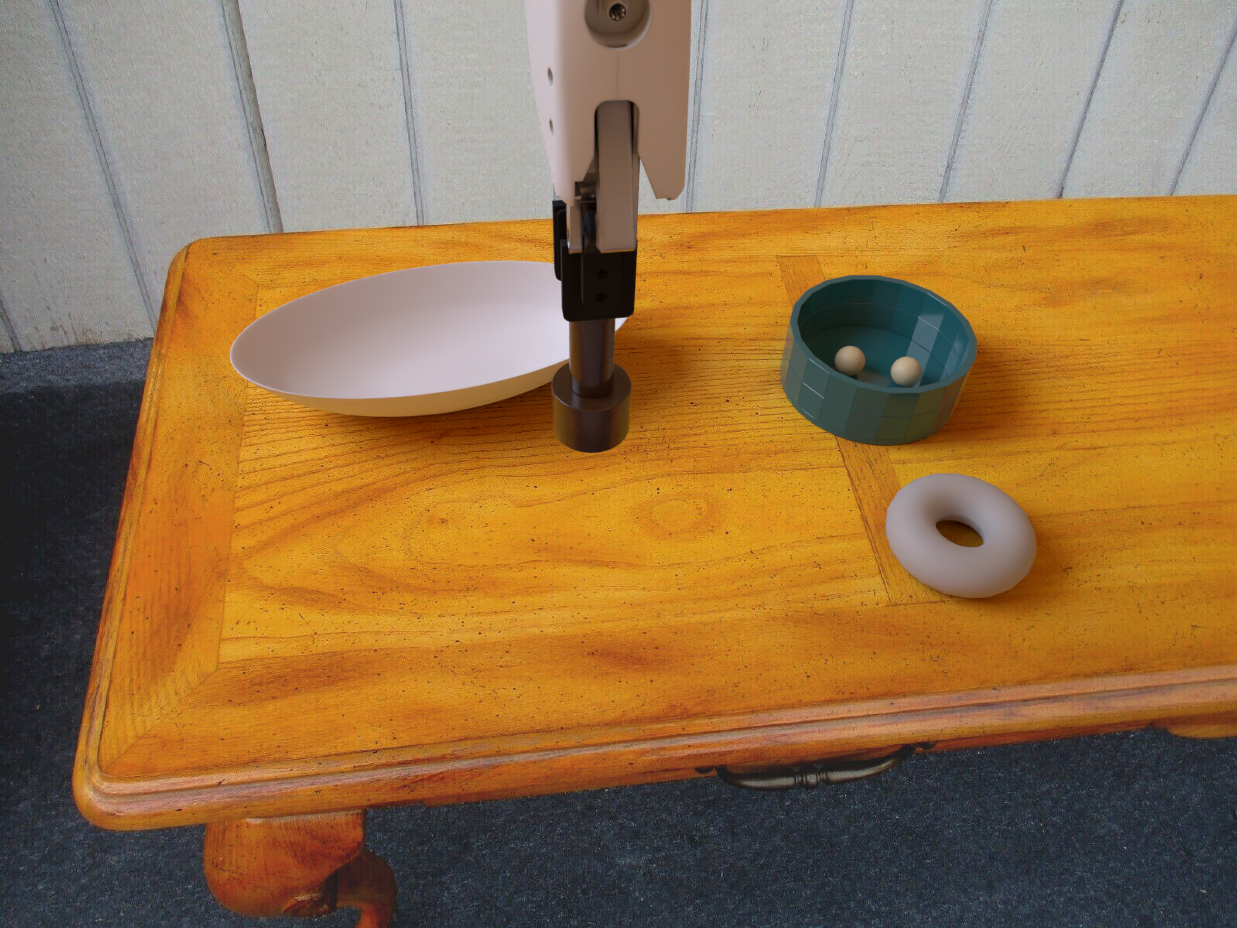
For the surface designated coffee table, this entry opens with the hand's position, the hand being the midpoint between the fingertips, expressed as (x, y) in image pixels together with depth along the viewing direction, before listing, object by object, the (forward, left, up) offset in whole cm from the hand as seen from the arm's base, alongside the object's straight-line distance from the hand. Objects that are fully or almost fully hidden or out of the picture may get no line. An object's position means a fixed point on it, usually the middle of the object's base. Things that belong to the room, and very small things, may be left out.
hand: (593, 293), depth 44 cm
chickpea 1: (+5, -30, -23) cm, 38 cm away
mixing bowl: (+4, -31, -25) cm, 40 cm away
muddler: (0, 0, -9) cm, 9 cm away
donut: (-11, -23, -25) cm, 36 cm away
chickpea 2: (+2, -33, -23) cm, 40 cm away
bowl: (+24, -4, -25) cm, 35 cm away
